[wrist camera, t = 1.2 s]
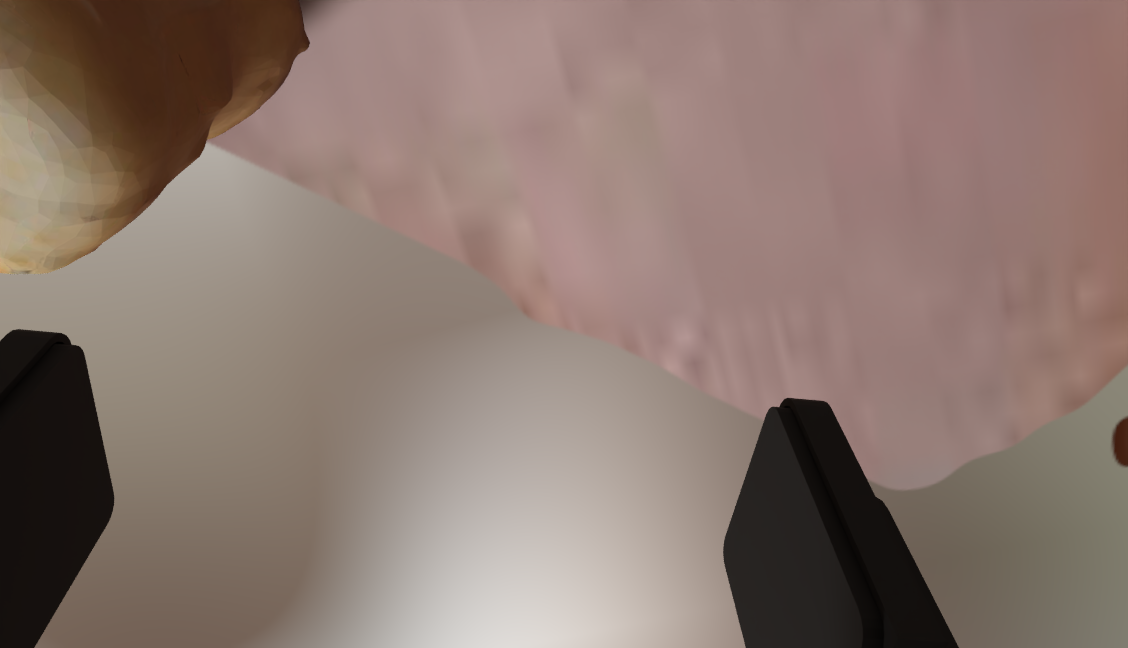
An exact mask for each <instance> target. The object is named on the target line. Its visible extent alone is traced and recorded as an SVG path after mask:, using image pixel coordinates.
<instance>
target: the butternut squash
mask: <svg viewBox="0 0 1128 648" xmlns="http://www.w3.org/2000/svg"><path fill="white" fill-rule="evenodd" d="M309 44H310V42H309V40H308V37H307V35H306V33H305V30H304V24H303V17H302V12H301V8H300V4H299V0H0V273H7V274H41V273H49V272H52V271H54V270H57V269H60V268H62V267H65V266H67V265H69V264H70V263H72V262H74V261H75V260H77V259H79V258H81V257H83V256H85V255H87V254H89V253H91V252H93V251H95V250H96V249H97V248H98V247H99V246H100V245H101V244H102V243H103V242H105V241H106V240H108V239H109V238H110V237H112V236H113V235H115V234H116V233H118V232H119V231H120V230H122V229H123V228H124V227H126V226H127V225H128V224H129V223H131V222H132V221H133V220H134V219H136V218H137V217H138V216H139V215H140V214H141V213H142V212H143V211H144V210H145V209H146V208H148V207H149V206H150V205H151V203H152V202H153V201H154V200H155V199H156V198H157V197H158V196H159V195H160V193H161V192H162V191H163V189H164V188H165V187H166V185H167V184H168V183H170V182H171V181H172V180H173V179H174V178H175V177H176V176H177V175H178V174H179V173H181V172H182V171H183V170H184V169H185V168H187V167H188V166H189V165H190V164H191V163H193V162H194V161H195V160H196V159H197V158H198V157H200V155H201V153H202V151H203V149H204V147H205V144H206V140H207V139H211V138H214V137H216V136H218V135H220V134H222V133H224V132H225V131H227V130H229V129H230V128H232V127H233V126H235V125H237V124H239V123H240V122H241V121H243V120H244V119H246V118H248V117H249V116H250V115H252V114H253V113H254V112H255V111H256V110H258V109H259V108H260V107H261V106H262V105H263V104H264V103H265V102H266V101H267V100H268V99H269V98H270V97H271V96H272V95H274V94H275V92H276V91H277V90H278V89H279V88H280V86H281V85H282V84H283V82H284V81H285V79H286V77H287V76H288V74H289V72H290V70H291V67H292V64H293V61H294V59H295V58H296V56H297V55H298V54H300V53H301V52H303V51H305V50H307V48H308V47H309Z"/></svg>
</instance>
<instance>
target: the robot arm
mask: <svg viewBox="0 0 1128 648" xmlns="http://www.w3.org/2000/svg"><path fill="white" fill-rule="evenodd" d="M113 506H114V492H113V487H112V483H111V478H110V473H109V469H108V464H107V459H106V454H105V450H104V445H103V440H102V436H101V431H100V426H99V422H98V417H97V412H96V407H95V402H94V398H93V393H92V388H91V383H90V379H89V374H88V369H87V364H86V360H85V355H84V352H83V350H82V349H81V348H80V347H79V346H76V345H71V342H70V340H69V338H68V337H67V336H66V335H64V334H62V333H54V332H43V331H31V330H21V329H18V330H12V331H11V332H10V333H8V334H7V335H6V336H5V337H4V338H3V339H2V340H1V341H0V648H34V647H35V645H36V644H37V642H38V640H39V639H40V637H41V635H42V634H43V632H44V630H45V629H46V627H47V625H48V623H49V622H50V620H51V619H52V617H53V615H54V613H55V612H56V610H57V608H58V607H59V605H60V603H61V602H62V600H63V598H64V597H65V595H66V593H67V591H68V590H69V588H70V586H71V585H72V583H73V581H74V580H75V577H76V576H77V575H78V573H79V571H80V570H81V568H82V566H83V564H84V563H85V561H86V559H87V558H88V556H89V554H90V553H91V551H92V549H93V548H94V546H95V544H96V542H97V541H98V539H99V537H100V536H101V534H102V532H103V531H104V529H105V527H106V526H107V524H108V522H109V520H110V518H111V514H112V511H113ZM723 550H724V551H723V554H724V555H723V556H724V564H725V568H726V572H727V575H728V580H729V584H730V587H731V591H732V595H733V599H734V603H735V607H736V611H737V615H738V619H739V623H740V627H741V630H742V634H743V638H744V642H745V646H746V648H959V647H958V645H957V643H956V641H955V639H954V637H953V635H952V633H951V632H950V630H949V628H948V626H947V624H946V622H945V620H944V618H943V616H942V614H941V612H940V610H939V608H938V606H937V604H936V602H935V600H934V598H933V596H932V594H931V592H930V590H929V588H928V586H927V584H926V583H925V581H924V579H923V577H922V575H921V573H920V571H919V569H918V567H917V565H916V563H915V561H914V559H913V557H912V555H911V553H910V551H909V549H908V547H907V545H906V543H905V541H904V539H903V537H902V535H901V534H900V531H899V529H898V528H897V526H896V524H895V522H894V520H893V518H892V516H891V514H890V512H889V510H888V508H887V507H886V506H885V504H884V503H883V501H882V500H880V499H878V498H877V497H875V495H874V493H873V491H872V489H871V487H870V485H869V483H868V481H867V479H866V477H865V475H864V473H863V471H862V469H861V467H860V465H859V463H858V461H857V459H856V457H855V455H854V453H853V451H852V449H851V447H850V445H849V443H848V441H847V439H846V437H845V435H844V433H843V431H842V429H841V427H840V425H839V423H838V421H837V419H836V417H835V415H834V413H833V411H832V409H831V407H830V406H829V404H828V403H827V402H825V401H817V400H806V399H794V398H786V399H784V400H783V402H782V403H781V405H780V407H771V408H770V409H769V410H768V412H767V414H766V417H765V420H764V423H763V426H762V429H761V432H760V435H759V438H758V441H757V444H756V447H755V450H754V453H753V456H752V459H751V462H750V465H749V468H748V471H747V474H746V477H745V480H744V483H743V486H742V489H741V492H740V495H739V498H738V500H737V503H736V506H735V510H734V513H733V515H732V518H731V521H730V524H729V527H728V531H727V533H726V536H725V540H724V549H723Z"/></svg>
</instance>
